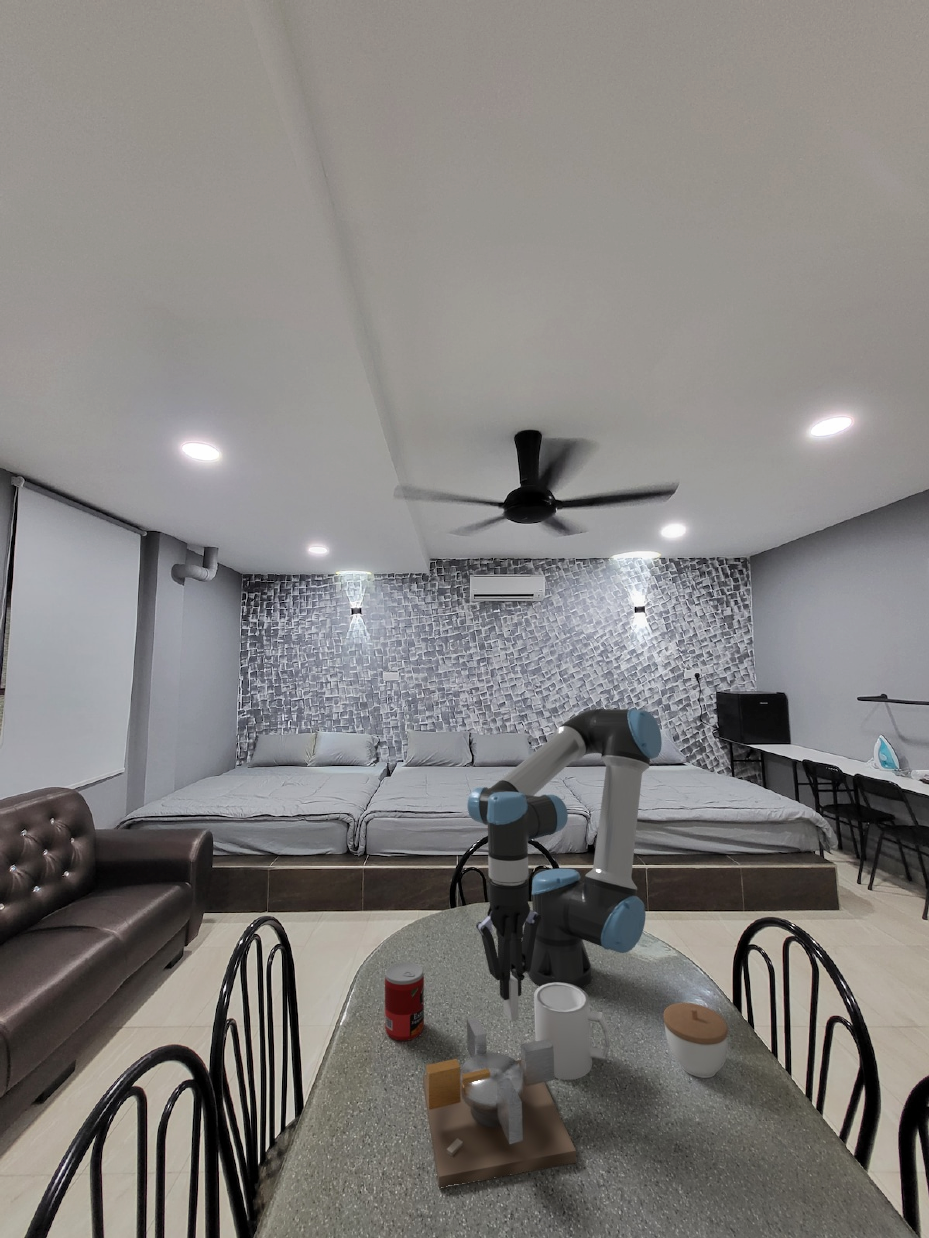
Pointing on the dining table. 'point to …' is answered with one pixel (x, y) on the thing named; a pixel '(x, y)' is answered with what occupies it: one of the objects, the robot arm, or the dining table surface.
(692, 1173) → the dining table surface
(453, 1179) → the wooden base plate
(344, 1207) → the dining table surface
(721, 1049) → the lidded jar
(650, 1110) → the dining table surface
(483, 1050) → the silver spoked hub
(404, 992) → the canned food
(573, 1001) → the mug
